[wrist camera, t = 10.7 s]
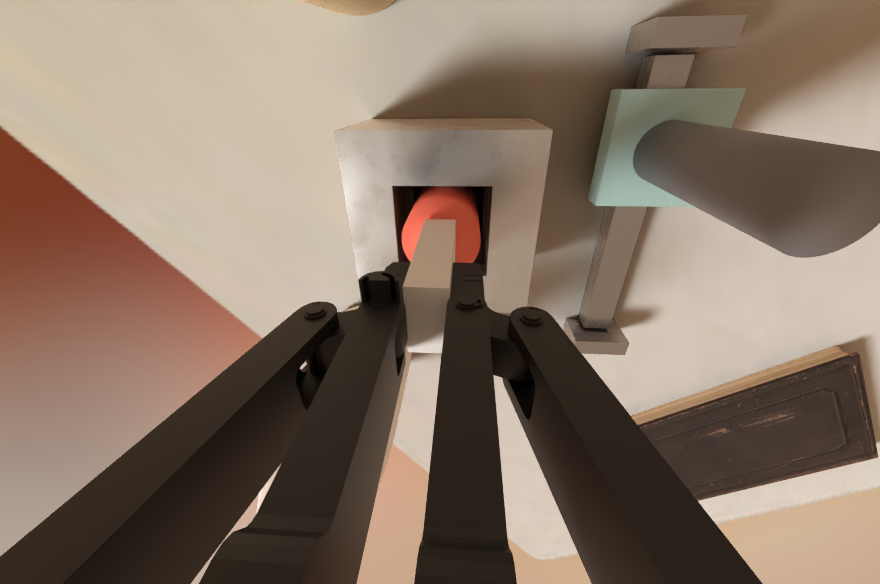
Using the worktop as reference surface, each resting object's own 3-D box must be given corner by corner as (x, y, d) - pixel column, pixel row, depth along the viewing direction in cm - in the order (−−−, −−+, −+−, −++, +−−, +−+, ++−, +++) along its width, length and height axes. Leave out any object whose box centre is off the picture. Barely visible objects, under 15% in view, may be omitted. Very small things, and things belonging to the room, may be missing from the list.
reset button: (415, 174, 21) (398, 202, 16) (479, 174, 21) (482, 202, 16) (418, 234, 23) (404, 275, 18) (476, 235, 23) (478, 277, 18)
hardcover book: (575, 427, 37) (581, 447, 35) (833, 336, 28) (860, 355, 26) (630, 497, 43) (638, 517, 41) (855, 439, 34) (879, 460, 32)
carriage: (601, 89, 20) (775, 91, 9) (708, 87, 19) (1038, 88, 8) (580, 192, 23) (688, 292, 12) (672, 192, 22) (875, 297, 11)
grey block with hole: (371, 119, 22) (334, 130, 16) (528, 117, 21) (553, 129, 15) (385, 259, 27) (362, 308, 21) (512, 262, 26) (525, 313, 20)
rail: (631, 26, 18) (658, 16, 16) (708, 24, 18) (748, 14, 16) (563, 329, 29) (572, 353, 27) (611, 331, 29) (624, 354, 26)
